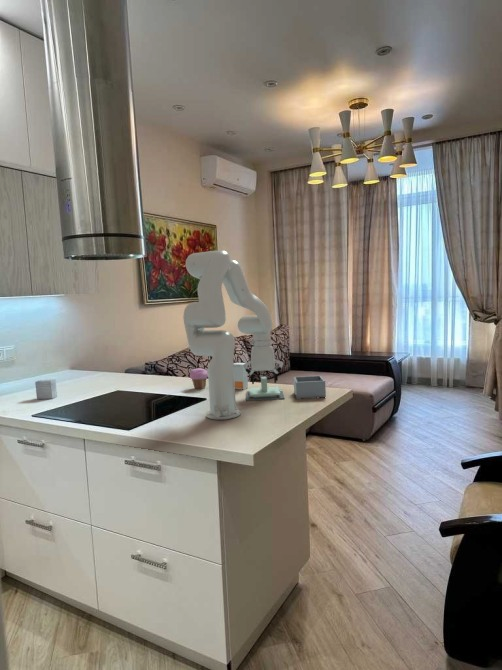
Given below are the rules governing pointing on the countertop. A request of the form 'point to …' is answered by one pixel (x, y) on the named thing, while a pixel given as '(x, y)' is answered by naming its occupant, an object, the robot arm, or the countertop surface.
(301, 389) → the tub
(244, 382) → the skincare box
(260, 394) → the lid
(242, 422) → the countertop surface
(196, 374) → the cupcake
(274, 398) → the mat
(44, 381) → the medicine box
